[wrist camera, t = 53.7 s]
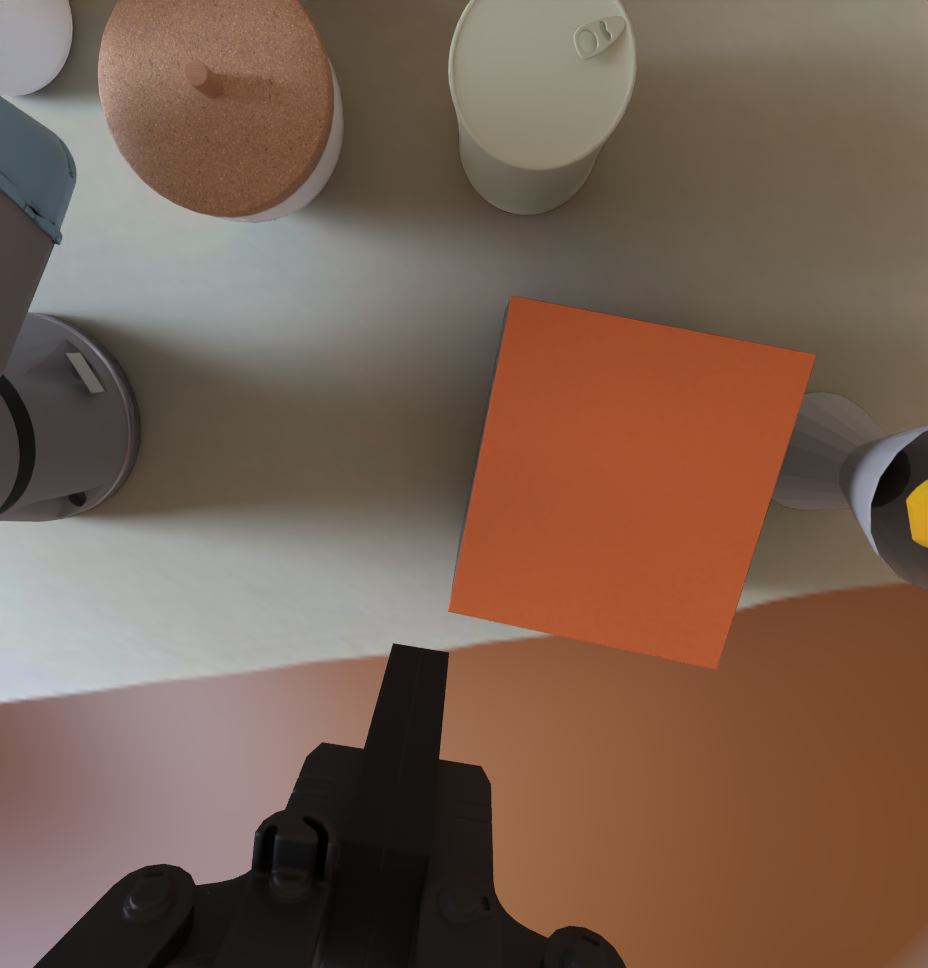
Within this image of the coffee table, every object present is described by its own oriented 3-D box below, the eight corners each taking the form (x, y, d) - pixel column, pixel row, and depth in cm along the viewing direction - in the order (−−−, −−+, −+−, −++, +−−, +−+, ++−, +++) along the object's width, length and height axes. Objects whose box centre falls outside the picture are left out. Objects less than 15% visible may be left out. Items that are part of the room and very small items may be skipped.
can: (621, 173, 42) (671, 108, 30) (496, 240, 43) (498, 203, 31) (562, 33, 40) (592, -93, 28) (434, 108, 41) (412, 16, 29)
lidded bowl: (355, 251, 43) (309, 222, 33) (176, 226, 44) (72, 190, 33) (373, 46, 40) (329, -59, 30) (181, 21, 41) (70, -93, 30)
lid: (809, 354, 32) (817, 354, 31) (712, 663, 36) (716, 670, 35) (511, 296, 32) (511, 295, 31) (449, 606, 36) (447, 611, 36)
